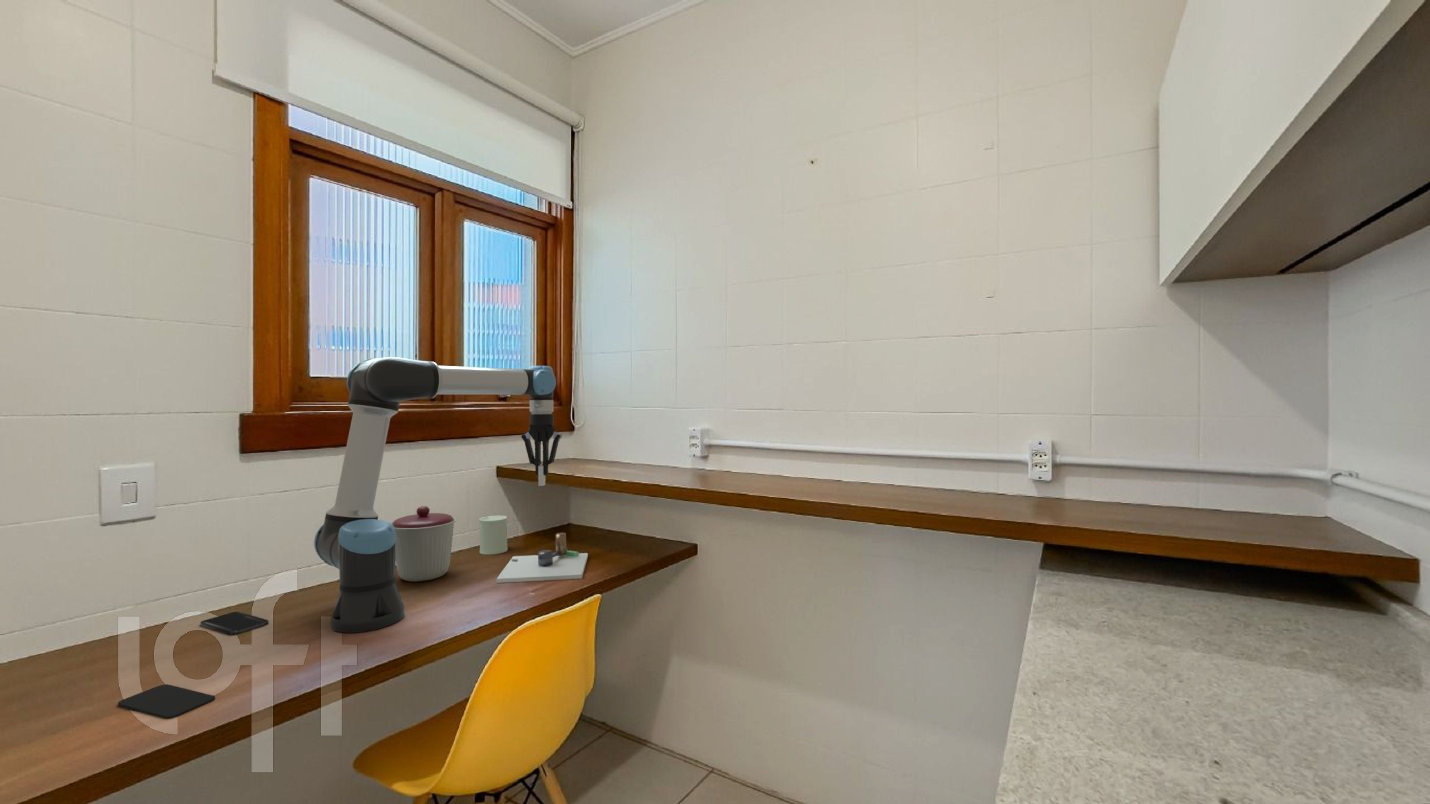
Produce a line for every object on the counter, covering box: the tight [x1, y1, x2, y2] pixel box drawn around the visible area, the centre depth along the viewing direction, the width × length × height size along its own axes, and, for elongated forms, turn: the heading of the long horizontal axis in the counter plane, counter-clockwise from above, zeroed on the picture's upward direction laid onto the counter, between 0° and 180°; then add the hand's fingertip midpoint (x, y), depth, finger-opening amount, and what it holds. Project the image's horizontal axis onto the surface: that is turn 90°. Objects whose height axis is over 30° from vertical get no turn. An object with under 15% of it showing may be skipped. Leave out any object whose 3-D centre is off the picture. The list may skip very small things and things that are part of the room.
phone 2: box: [200, 611, 269, 636], centre depth 141 cm, size 8×1×15 cm
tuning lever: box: [537, 532, 569, 566], centre depth 189 cm, size 14×4×7 cm, turn 163°
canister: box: [390, 505, 457, 582], centre depth 177 cm, size 18×18×21 cm
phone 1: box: [117, 683, 216, 720], centre depth 105 cm, size 7×1×15 cm
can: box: [478, 515, 509, 556], centre depth 206 cm, size 9×9×12 cm
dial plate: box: [496, 550, 589, 584], centre depth 184 cm, size 24×24×2 cm
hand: (541, 485), depth 194 cm, fingers closed
